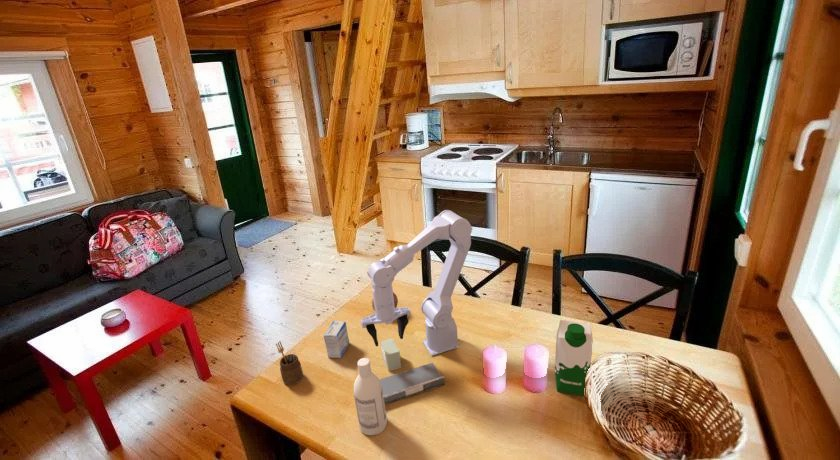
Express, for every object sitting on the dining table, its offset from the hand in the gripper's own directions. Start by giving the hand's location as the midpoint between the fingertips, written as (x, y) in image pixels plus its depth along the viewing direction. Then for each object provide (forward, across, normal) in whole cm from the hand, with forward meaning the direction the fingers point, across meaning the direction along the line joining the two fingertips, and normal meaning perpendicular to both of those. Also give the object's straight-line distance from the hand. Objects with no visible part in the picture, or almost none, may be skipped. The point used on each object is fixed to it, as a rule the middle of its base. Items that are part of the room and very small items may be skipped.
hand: (388, 340), depth 121 cm
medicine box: (+8, -14, +13) cm, 21 cm away
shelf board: (+8, +1, -11) cm, 14 cm away
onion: (+8, +6, +27) cm, 29 cm away
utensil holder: (+8, -29, +6) cm, 31 cm away
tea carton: (+8, 0, 0) cm, 8 cm away
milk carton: (+8, +42, -30) cm, 52 cm away
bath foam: (+8, -11, -21) cm, 25 cm away
